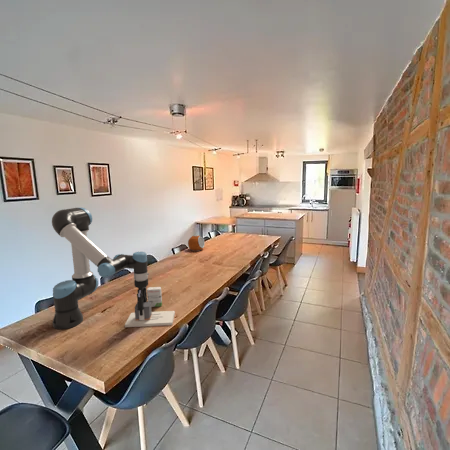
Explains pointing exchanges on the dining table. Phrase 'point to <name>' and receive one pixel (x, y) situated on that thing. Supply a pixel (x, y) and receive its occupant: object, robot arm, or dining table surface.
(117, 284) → the dining table surface
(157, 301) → the ink box
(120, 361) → the dining table surface
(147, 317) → the block
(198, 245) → the alarm clock
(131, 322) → the board
